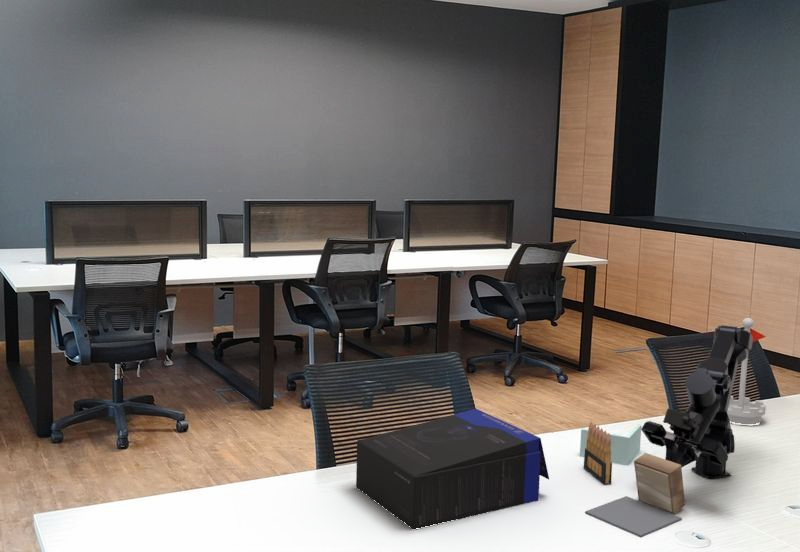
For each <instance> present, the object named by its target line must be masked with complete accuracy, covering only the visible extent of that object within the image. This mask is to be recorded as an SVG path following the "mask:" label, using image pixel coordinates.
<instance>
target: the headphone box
mask: <svg viewBox="0 0 800 552" xmlns="http://www.w3.org/2000/svg"><path fill="white" fill-rule="evenodd" d="M542 443H543V442H542V439H541V437H539V436H538V435H535V434H532V433H531V432H528V431H526V430H523V428H520V427H517V426H515V425H513V424H512V423H511V424H510V423H509V422H506V421H505V420H502V419H500V418H498V417H495V416H494V415H491V414H489V413H487V412H485V411H482V410H480V409H478V408H474V409H469V410H467V411H462V412H459V413H455V414H452V415H451V414H450V415H447V416H444V417H440V418H437V419H434V420H433V419H431V420H429V421H425V422H423V423H418V424H416V425H414V424H413V425H411V426H410V425H409V426H406V427H402V428H400V429H396V430H393V431H392V430H391V431H388V432H385V433H381V434H378V435H375V436H370V437H366V438H362V439H361V438H360V439H357V440H356V472H355V473H356V474H355V475H356V477H355V479H356V480H355V482H356V483H355V487H357V488H358V489H360V490H361V491H363V492H364V493H365V494H367V495H368V496H369V497H370V498H369V497H368V496H367V497H368V498H369V499H371V498H372V499H373V500H375V501H376V502H377V503H379V504H380V505H381V506H383V507H384V508H385V509H387V510H388V511H390V512H391V513H392V514H394V515H395V516H397V517H398V518H399V519H400V520H402V521H403V522H405V523H406V524H407V525H408V526H410V527H411V528H412V529H416V528H420V529H422V528H421V527H425V526H429V527H431V526H430V525H433V524H437V525H439V524H438V523H442V522H446V523H448V522H447V521H450V522H452V521H451V520H454V521H457V520H456V519H458V520H463V519H466V517H467V518H470V516H471V517H475V516H478V514H480V515H484V514H487V512H488V513H491V512H496V511H497V512H498V511H500V509H501V510H504V509H505V510H506V509H508V508H512V507H517V506H522V505H526V504H530V503H534V502H538V501H539V496H540V477H543V478H544V479H547V480H550V476H549V471H548V468H547V467H548V466H547V462H546V458H545V453H544V448H543V444H542ZM357 488H356V489H357ZM358 489H357V490H358ZM360 490H359V491H360ZM361 491H360V492H361ZM364 493H363V494H364ZM365 494H364V495H365ZM372 499H371V500H372ZM373 500H372V501H373ZM375 501H374V502H375ZM376 502H375V503H376ZM377 503H376V504H377ZM379 504H378V505H379ZM380 505H379V506H380ZM381 506H380V507H381ZM383 507H382V508H383ZM384 508H383V509H384ZM385 509H384V510H385ZM387 510H386V511H387ZM388 511H387V512H388ZM391 513H390V514H391ZM483 513H484V514H483ZM392 514H391V515H392ZM474 515H475V516H474ZM395 516H394V517H395ZM462 518H463V519H462ZM399 519H398V520H399ZM400 520H399V521H400ZM403 522H402V523H403ZM406 524H405V525H406ZM442 524H443V523H442ZM407 525H406V526H407ZM408 526H407V527H408ZM433 526H434V525H433ZM410 527H409V528H410ZM411 528H410V529H411ZM425 528H426V527H425ZM412 529H411V530H412ZM416 530H417V529H416Z"/></svg>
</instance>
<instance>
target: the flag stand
mask: <svg viewBox="0 0 800 552" xmlns="http://www.w3.org/2000/svg"><path fill="white" fill-rule="evenodd" d="M741 325H742V326H743V328H744V329H743V330H747V331H748V332H749V333H751V335H752V336H753V343H754V342H756V341H759V340H762V339H764V338H766V337H767V336H766V335H764V334H762V333H760V332H759V331H756V330H755V329H752V327H753V326H754V321H753V319H752V318H750V317H746V318H744V319H743V320H742V324H741ZM748 360H749V354H748V355H747V358H746V359H745V360H743V361H742V362H741V368H740V378H739V379H740V380H739V390H738V391H739V393H738V399H734V396H733V395H731V398H730V402H729V406H728V411H727V414H728V417H729V420H730V421H731V422H735V423H741V424H756V423H759V422H760V423H761V419H762V417H763V416H764V415H766V409H767V407H766V404H764V402H763V401H761V400H759V399H757V400H756V399H755V401H754V402H752V401H751V397H747V396H746V385H747V384H746V383H747V372H748Z"/></svg>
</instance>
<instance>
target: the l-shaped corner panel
mask: <svg viewBox="0 0 800 552" xmlns="http://www.w3.org/2000/svg"><path fill="white" fill-rule="evenodd" d="M641 428H642V424H636V426H635V427H634V428H633V429H632V430H631V431H630V432H629V433H628V434H627V435H622V434H616V433H611V432H606V433H607V435H608V433H609V434H610V437H611V463H612V464H617V465H622V466H623V465H624V466H627V467H628V466H629V465H630V464H631V462H632V461H634V460H635V458H636V456H637V455H638V454H639V453H640V452H639V451H641V437H642V436H641V435H642V430H641ZM588 429H589V428H581V430H580V446H579V447H580V448H579V457H581V458H584V455H585V448H586V445H587V436H588ZM603 433H604V431H603ZM634 457H635V458H634Z"/></svg>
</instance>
